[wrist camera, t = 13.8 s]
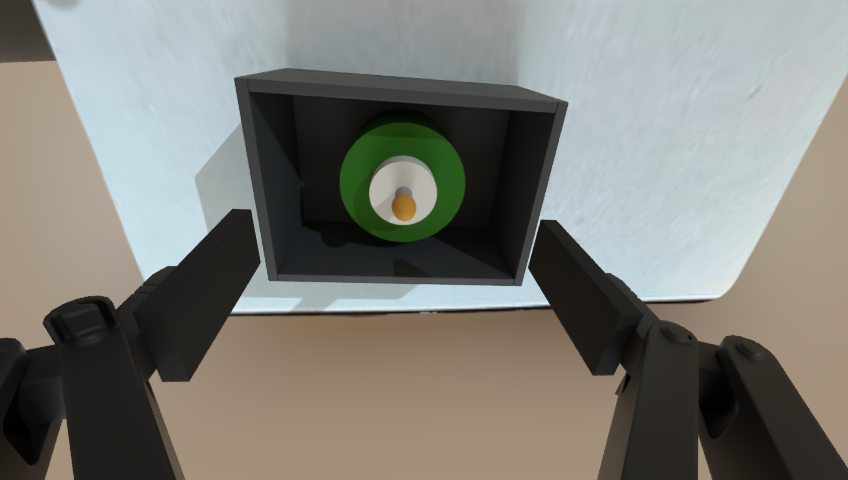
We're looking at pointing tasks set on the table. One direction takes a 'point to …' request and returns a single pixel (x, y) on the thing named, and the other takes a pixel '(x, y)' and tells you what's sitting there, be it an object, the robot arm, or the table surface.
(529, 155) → the dark grey open box
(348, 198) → the candle
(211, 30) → the table surface
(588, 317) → the robot arm
